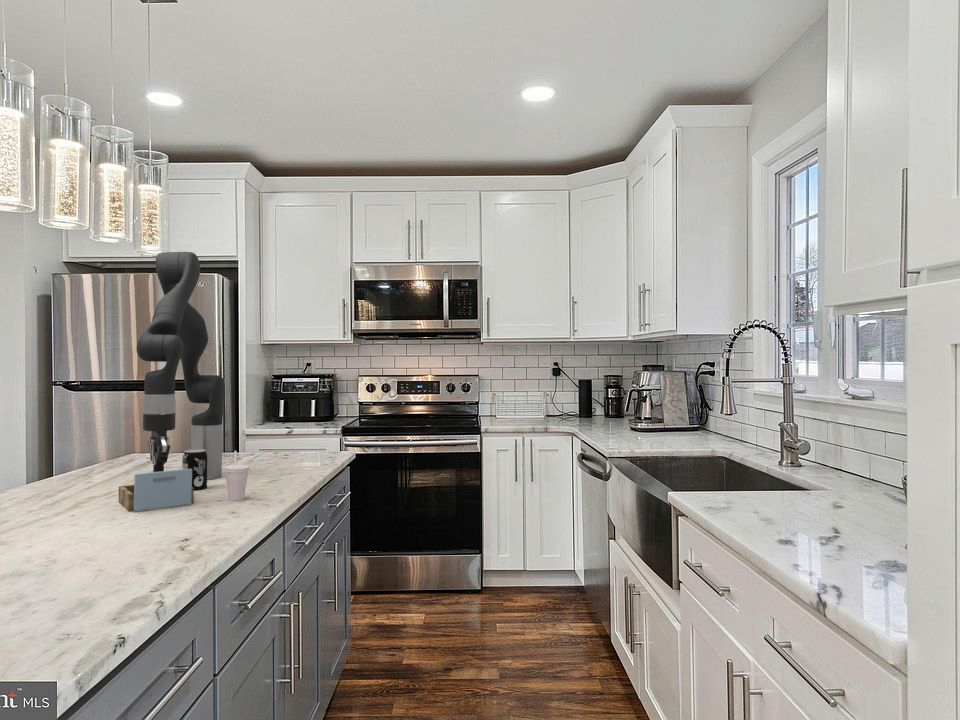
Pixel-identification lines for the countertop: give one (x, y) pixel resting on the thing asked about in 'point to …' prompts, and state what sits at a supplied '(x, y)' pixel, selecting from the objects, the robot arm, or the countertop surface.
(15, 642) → the countertop surface
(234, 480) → the smoothie
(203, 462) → the beverage can
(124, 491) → the tray
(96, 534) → the countertop surface
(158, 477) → the flat blue panel
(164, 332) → the robot arm
